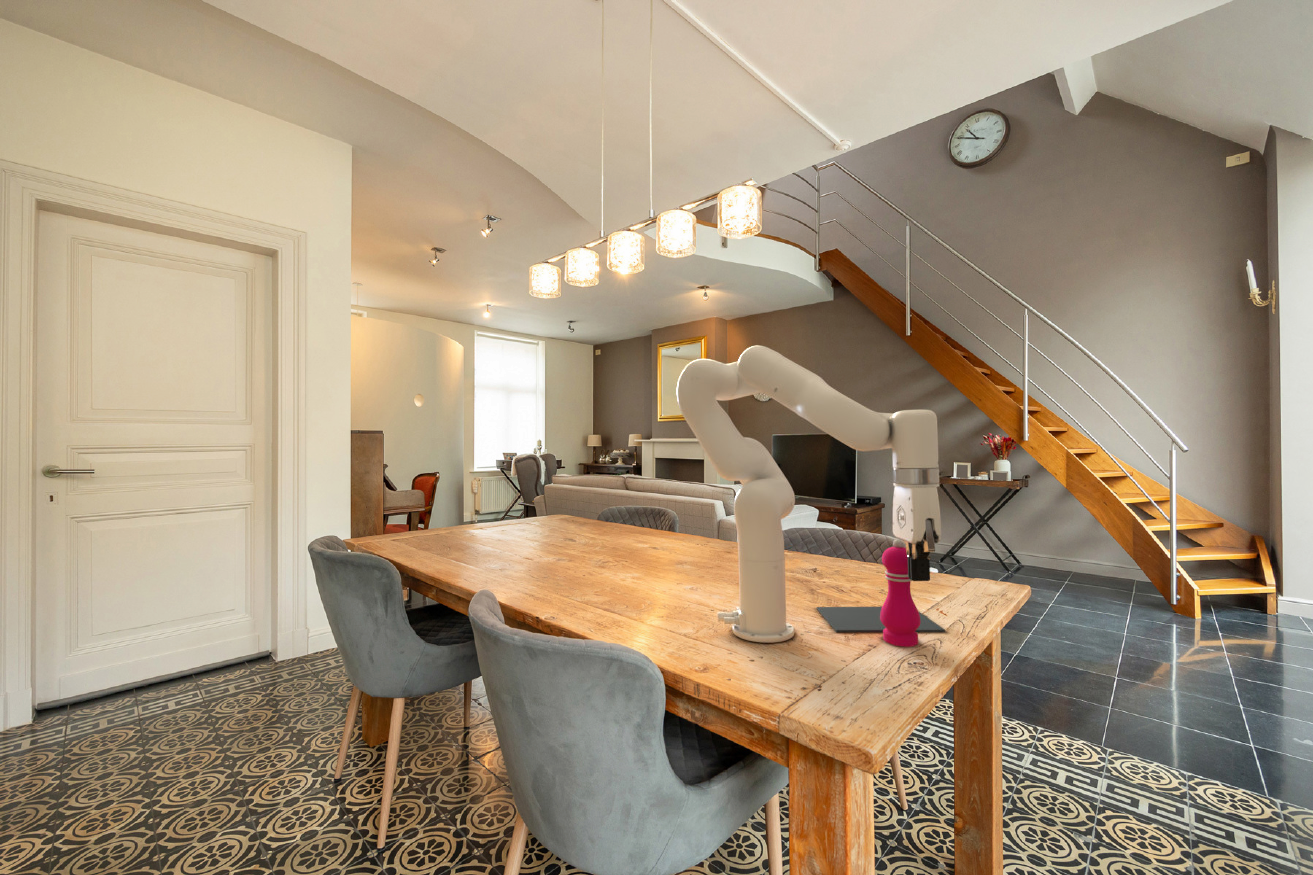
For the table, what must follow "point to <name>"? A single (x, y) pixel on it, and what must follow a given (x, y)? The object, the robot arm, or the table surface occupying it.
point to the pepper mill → (898, 600)
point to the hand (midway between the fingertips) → (919, 579)
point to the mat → (866, 620)
